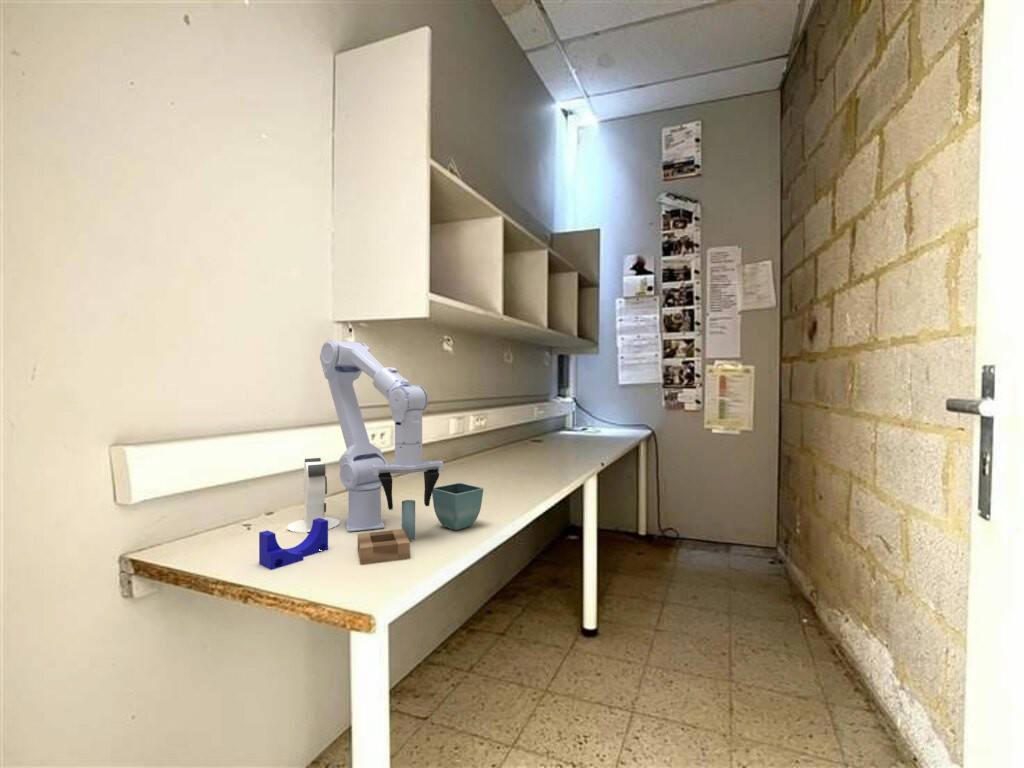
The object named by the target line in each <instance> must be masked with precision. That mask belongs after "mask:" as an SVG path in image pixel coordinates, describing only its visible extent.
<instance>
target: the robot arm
mask: <svg viewBox="0 0 1024 768" xmlns="http://www.w3.org/2000/svg"><path fill="white" fill-rule="evenodd" d="M320 350H321V351H320V354H319V360H320V364H321V367H322V371H323V374H324V375H323V376H324V378H325V379H326V380H327V381H328V387H329V390H330V391H329V392H330V394H331V398H332V400H333V401H332V402H333V404H334V407H335V411H336V415H337V419H338V422H339V426H340V430H341V433H342V438H343V441H344V443H345V447H346V450H345V451H344V452H343V454H342V455H341V456H340V458H339V460H338V464H339V478H340V481H341V483H342V485H343V486H344V487H345V489H346V490H348V492H347V493H348V496H347V497H348V498H347V499H348V502H347V503H348V517H347V518H346V519H345V524H346V531H347V532H356V531H368V530H377V529H384V528H385V525H384V521H383V519H382V488H383V490H384V494H385V497H386V502H387V508H388V510H389V511H391V510H393V509H394V508H393V507H394V504H393V478H392V474H394V475H395V474H409V473H422V472H423V479H424V480H423V481H424V493H423V494H424V496H423V503H424V506H425V507H430V503H431V499H432V498H431V497H432V491H433V489H434V488H435V486H436V484H437V482H438V480H439V477H440V472H444V461H442V460H432V461H431V460H424V461H423V412H424V411H425V410H426V409H427V407H428V403H429V396H428V392H427V391H426V389H425V388H424V387H423V386H422V385H419V384H418V385H414V384H411V383H410V380H408V379H406V378H405V377H404V376H402V375H401V374H400V373H399V372H398V368H396V367H389V366H388V367H384V366H383V365H382V364H381V363H380V362H379V360H377V359H376V358H375V356H374V355H373V354H372V353H371V348H370V347H369V346H367V344H366V343H364V342H361V341H358V342H356V341H355V342H352V341H340V340H333V339H328V340H326V341H325V342H324V343H323V345H322V346H321V349H320ZM362 373H364V374H366V375H367V376H368V377H369V378H371V379H372V386H373V387H374V389H376V390H377V391H378V392H379V393H380V394H381V395H382V396H383V397H384V398H386V399H387V401H388V407H389V409H390V411H391V419H392V421H393V422H394V462H390V463H389V462H388V460H386V459H385V457H384V456H383V453H382V449H380V448H379V447H377V446H375V445H374V444H372V443H371V442H370V439H369V436H368V435H369V434H368V432H367V427H366V425H365V422H364V417H363V415H362V411H361V408H360V405H359V402H358V398H357V394H356V391H355V388H354V385H353V384H354V381H356V380H358V379H359V378H360V376H361V374H362Z"/></svg>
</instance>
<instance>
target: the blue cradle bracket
mask: <svg viewBox="0 0 1024 768" xmlns="http://www.w3.org/2000/svg"><path fill="white" fill-rule="evenodd" d="M258 536H259V537H258V543H259V544H258V547H259V548H258V550H259V553H258V557H259V558H258V560H259V565H261V566H262V567H265V568H266V569H268V570H270V571H273V570H276V569H279V568H281V567H285V566H288V565H292V564H295V563H299V562H302V561H304V558H305V557H308V556H311V555H312V556H313V555H315V553H316V554H318V552H319V553H321V551H319V549H320V550H322V552H325V551H324V550H326V551H328V550H329V530H328V520H324V519H321V518H318V519H314V520H313V524H312V528H311V531H310V533H307V536H306V537H305V538H304V540H302V541H301V542H300V543H299V544H297V545H295V546H293V547H290V548H282V547H281V546H280V545H279V543H278V541H277V536H276V533H275V532H272V531H269V530H263V531H260V532H258Z"/></svg>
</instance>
